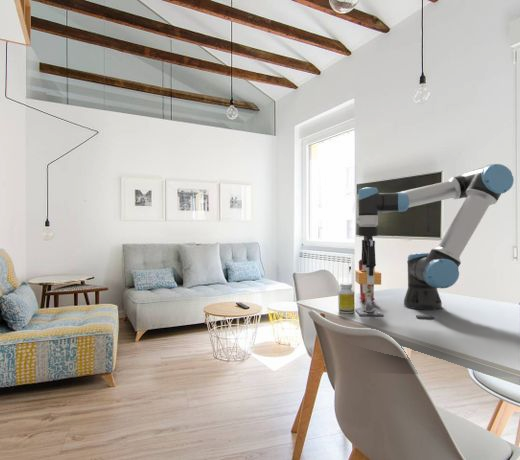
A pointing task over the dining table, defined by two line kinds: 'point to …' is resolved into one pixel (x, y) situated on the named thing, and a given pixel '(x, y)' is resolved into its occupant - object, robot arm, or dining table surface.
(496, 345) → the dining table surface
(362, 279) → the square wooden frame
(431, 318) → the grey rectangular block
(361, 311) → the keeper
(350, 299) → the pill bottle
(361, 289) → the liquor
